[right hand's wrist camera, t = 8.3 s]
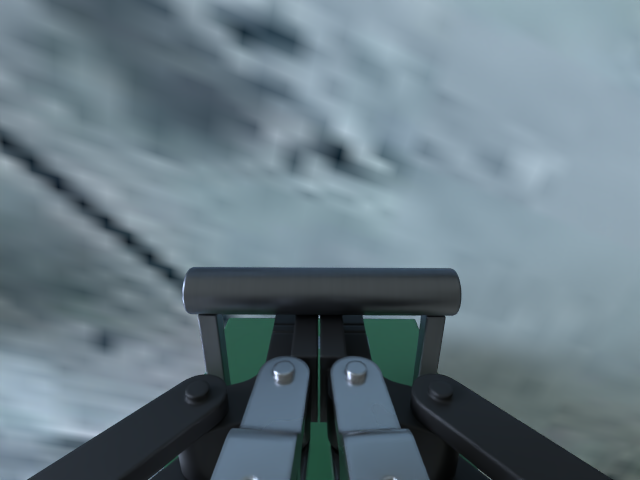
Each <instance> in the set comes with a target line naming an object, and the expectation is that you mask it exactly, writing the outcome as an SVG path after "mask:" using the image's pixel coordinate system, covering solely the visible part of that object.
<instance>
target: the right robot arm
mask: <svg viewBox="0 0 640 480" xmlns="http://www.w3.org/2000/svg"><path fill="white" fill-rule="evenodd" d="M311 422H318V315H276V317H275V321H274V326H273V330H272V335H271V340H270V344H269V349H268V353H267V358H266V362H265V363H264V364H263V365H262V367H261V368H260V370H259V372H258V374H257V375H255V376H254V377H252V378H251V379H249V380H246V381H244V382H240V383H236V384H232V385H228V386H226V383H225V382H224V380H223V379H221V378H220V377H218V376H215V375H210V374H204V375H197V376H194V377H191V378H189V379H186V380H185V381H183V382H181V383H180V384H178V385H177V386H175V387H173V388H172V389H170V390H169V391H167V392H165V393H164V394H162V395H161V396H159V397H158V398H156V399H154V400H153V401H151V402H150V403H148V404H146V405H145V406H143V407H142V408H140V409H138V410H137V411H135V412H134V413H132V414H131V415H129V416H127V417H126V418H124V419H123V420H121V421H119V422H118V423H116V424H115V425H113V426H112V427H110V428H108V429H107V430H105V431H104V432H102V433H100V434H99V435H97V436H96V437H94V438H93V439H91V440H89V441H88V442H86V443H85V444H83V445H81V446H80V447H78V448H77V449H75V450H74V451H72V452H70V453H69V454H67V455H66V456H64V457H62V458H61V459H59V460H58V461H56V462H54V463H53V464H51V465H50V466H48V467H47V468H45V469H43V470H42V471H40V472H39V473H37V474H35V475H34V476H32V477H31V478H29V479H28V480H148V479H149V478H150V477H152V476H153V475H154V474H155V473H157V472H158V471H159V470H160V469H162V468H163V467H164V466H165V465H167V464H168V463H169V462H170V461H172V460H173V459H174V458H175V457H177V456H179V457H178V458H177V459H175V460H174V461H173V462H172V463H170V464H169V465H168V466H167V467H165V468H164V469H163V470H162V471H160V472H159V473H158V474H157V475H155V476H154V477H153V478H152V479H150V480H307V476H308V467H309V458H310V429H311ZM320 422H327V435H328V440H329V442H330V458H331V467H332V476H333V480H490V479H488V478H487V477H486V476H485V475H483V474H482V473H481V472H480V471H478V470H477V469H476V468H475V467H473V466H472V465H471V464H470V463H468V462H467V461H466V460H465V459H463V458H462V457H461V456H460V455H459V454H461V455H462V456H463V457H464V458H466V459H467V460H468V461H470V462H471V463H472V464H473V465H475V466H476V467H477V468H478V469H480V470H481V471H482V472H483V473H485V474H486V475H487V476H488V477H490V478H491V479H492V480H612V479H611V478H609V477H608V476H606V475H605V474H603V473H601V472H600V471H598V470H597V469H595V468H593V467H592V466H590V465H589V464H587V463H586V462H584V461H582V460H581V459H579V458H578V457H576V456H574V455H573V454H571V453H570V452H568V451H566V450H565V449H563V448H562V447H560V446H559V445H557V444H555V443H554V442H552V441H551V440H549V439H547V438H546V437H544V436H543V435H541V434H540V433H538V432H536V431H535V430H533V429H532V428H530V427H528V426H527V425H525V424H524V423H522V422H521V421H519V420H517V419H516V418H514V417H513V416H511V415H509V414H508V413H506V412H505V411H503V410H501V409H500V408H498V407H497V406H495V405H494V404H492V403H490V402H489V401H487V400H486V399H484V398H482V397H481V396H479V395H478V394H476V393H475V392H473V391H471V390H470V389H468V388H467V387H465V386H463V385H462V384H460V383H459V382H457V381H455V380H454V379H452V378H450V377H447V376H444V375H440V374H424V375H421V376H419V377H418V378H416V379H415V381H414V382H413V384H412V386H409V385H405V384H401V383H397V382H394V381H391V380H389V379H387V378H385V377H383V375H382V372H381V370H380V368H379V367H378V365H377V364H376V363H374V362H373V361H372V359H371V354H370V349H369V345H368V340H367V335H366V330H365V326H364V321H363V316H362V315H320Z"/></svg>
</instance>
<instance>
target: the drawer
mask: <svg viewBox="0 0 640 480" xmlns="http://www.w3.org/2000/svg"><path fill="white" fill-rule="evenodd" d="M182 297H183V305H184V308H185V310H186V312H188V313H189V314H198V321H199V328H200V334H201V341H202V348H203V354H204V361H205V367H206V373H205V374H210V375H215V376H218V377H220V378H221V379H223V380H224V382H225V383H226V386H228V385H232V384H236V383H240V382H244V381H246V380H249V379H251V378H252V377H254V376H255V375H257V374H258V372H259V370H260V368H261V367H262V365H263V364H264V363H265V362H266V358H267V353H268V349H269V344H270V340H271V335H272V330H273V326H274V321H275V318H229V320H228V322H227V324H226V327H225V329H224V324H223V316H222V314H260V315H421V321H420V329H419V328H418V326H417V323H416V321H415V319H363V321H364V326H365V330H366V335H367V340H368V345H369V349H370V354H371V359H372V361H373V362H374V363H376V364H377V365H378V367H379V368H380V370H381V372H382V375H383V377H385V378H387V379H389V380H391V381H394V382H397V383H401V384H405V385H409V386H412V384H413V382H414V381H415V379H416V378H418V377H419V376H421V375H424V374H438V373H437V368H438V362H439V356H440V350H441V343H442V337H443V331H444V324H445V316H453V315H455V314H457V313H458V311H459V308H460V304H461V285H460V281H459V277H458V275H457V273H456V272H455V270H453V269H451V268H270V267H193V268H190V269H189V270H188V271H187V273H186V276H185V278H184V283H183V290H182ZM459 455H460V456H461V457H462V458H463V459H465V460H466V461H467V462H468V463H470V464H471V465H472V466H473V467H475V468H476V469H477V467H476V466H475V465H473V464H472V463H471V462H470V461H468V460H467V459H466V458H464V457H463V456H462V455H461V454H459ZM178 457H179V456H177V457H175V458H174V459H173V460H172V461H170V462H169V463H168V464H167V465H165V467H167V466H168V465H169V464H170V463H172V462H173V461H174V460H175V459H177V458H178ZM165 467H164V468H165ZM477 470H478V469H477ZM307 480H333V476H332V467H331V458H330V442H329V440H328V435H327V422H320V319H318V422H311V429H310V458H309V467H308V476H307Z"/></svg>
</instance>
